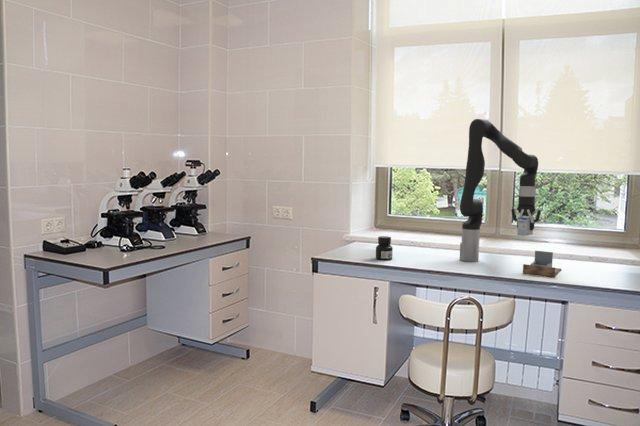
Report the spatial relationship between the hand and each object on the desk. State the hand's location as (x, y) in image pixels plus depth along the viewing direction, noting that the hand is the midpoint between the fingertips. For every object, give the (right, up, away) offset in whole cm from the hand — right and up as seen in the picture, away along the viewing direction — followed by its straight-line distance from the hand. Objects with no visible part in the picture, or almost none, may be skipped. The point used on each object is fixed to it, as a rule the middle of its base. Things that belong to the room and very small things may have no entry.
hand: (525, 229), depth 259 cm
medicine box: (0, -3, 0) cm, 3 cm away
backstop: (+8, -20, -1) cm, 22 cm away
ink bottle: (-67, -17, +25) cm, 73 cm away
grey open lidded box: (+6, -21, -4) cm, 22 cm away
